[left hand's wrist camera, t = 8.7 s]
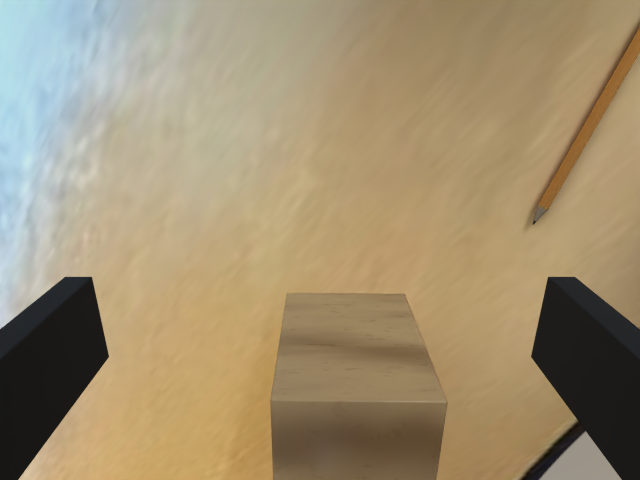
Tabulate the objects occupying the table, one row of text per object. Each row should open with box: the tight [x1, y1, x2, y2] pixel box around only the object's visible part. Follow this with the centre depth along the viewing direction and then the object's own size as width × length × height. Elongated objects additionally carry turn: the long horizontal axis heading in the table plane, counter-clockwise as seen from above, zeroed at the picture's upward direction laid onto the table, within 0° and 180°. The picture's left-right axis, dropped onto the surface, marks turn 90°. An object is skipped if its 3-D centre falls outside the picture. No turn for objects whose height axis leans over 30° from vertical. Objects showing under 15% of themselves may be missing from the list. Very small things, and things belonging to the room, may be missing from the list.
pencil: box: [533, 28, 640, 225], centre depth 35 cm, size 1×1×19 cm
